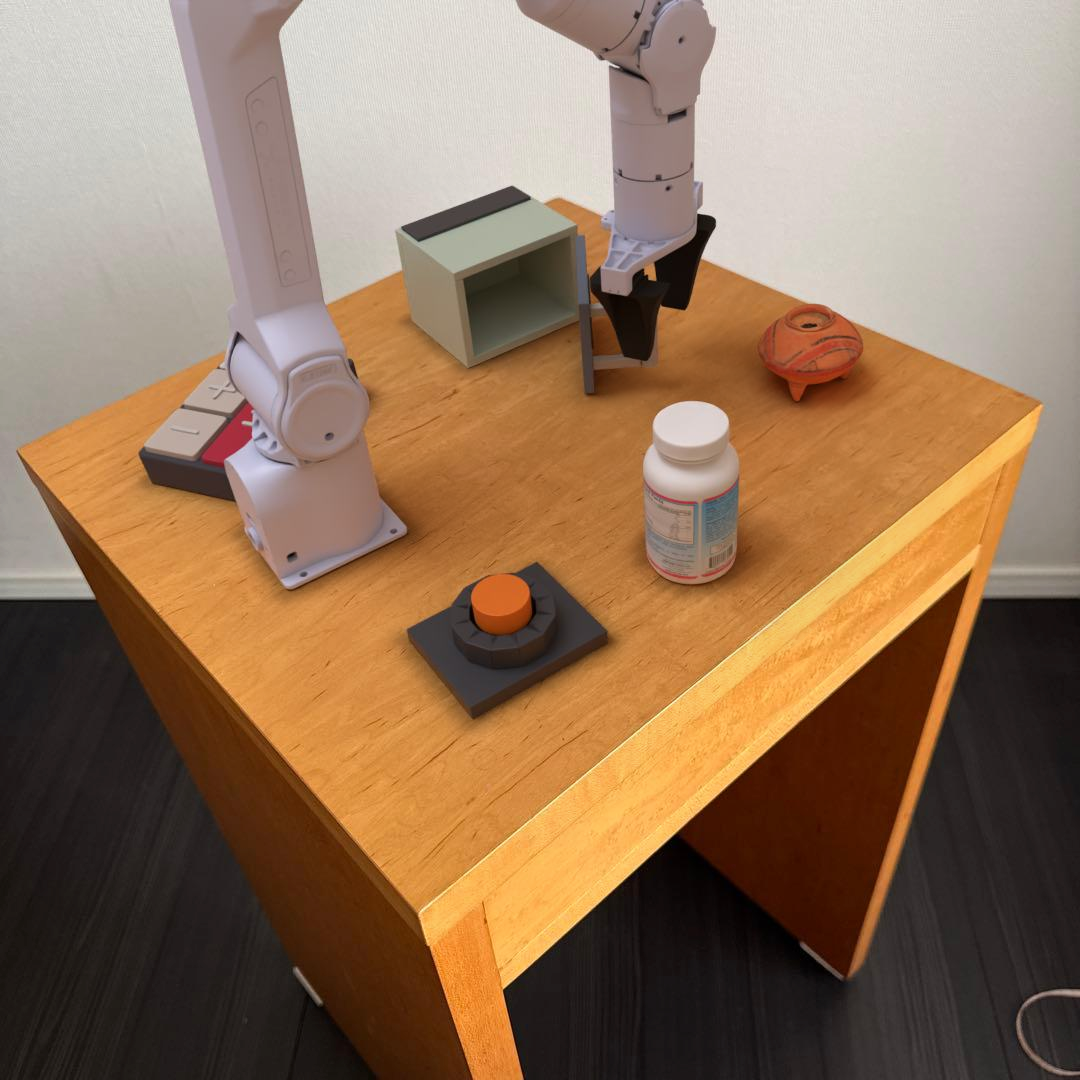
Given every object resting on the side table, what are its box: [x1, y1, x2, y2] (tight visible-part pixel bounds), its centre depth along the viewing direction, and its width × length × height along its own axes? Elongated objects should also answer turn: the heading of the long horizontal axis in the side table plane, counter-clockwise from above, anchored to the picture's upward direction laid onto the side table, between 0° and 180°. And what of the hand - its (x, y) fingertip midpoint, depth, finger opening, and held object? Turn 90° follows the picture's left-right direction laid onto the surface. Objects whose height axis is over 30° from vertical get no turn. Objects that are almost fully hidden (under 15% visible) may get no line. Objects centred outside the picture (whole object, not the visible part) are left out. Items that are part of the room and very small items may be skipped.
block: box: [406, 561, 609, 720], centre depth 70 cm, size 10×8×3 cm
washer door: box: [575, 234, 659, 394], centre depth 91 cm, size 11×6×8 cm, turn 0°
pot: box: [757, 303, 864, 402], centre depth 87 cm, size 8×8×7 cm
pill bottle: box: [642, 400, 740, 585], centre depth 72 cm, size 6×6×11 cm
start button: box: [471, 573, 532, 635], centre depth 69 cm, size 4×4×2 cm
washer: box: [394, 185, 579, 369], centre depth 97 cm, size 12×10×9 cm
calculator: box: [138, 358, 359, 502], centre depth 89 cm, size 11×4×15 cm
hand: (656, 331), depth 88 cm, fingers open, 7 cm apart
